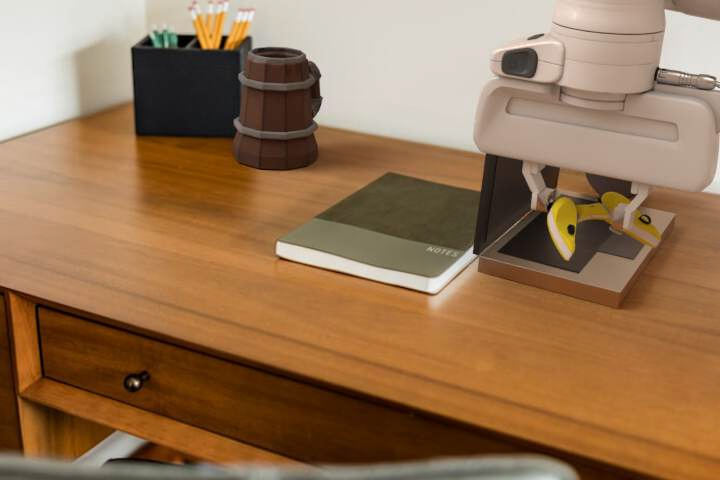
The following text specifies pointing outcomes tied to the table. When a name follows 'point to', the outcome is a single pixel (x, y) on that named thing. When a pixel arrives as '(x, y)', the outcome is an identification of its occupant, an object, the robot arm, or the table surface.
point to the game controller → (568, 214)
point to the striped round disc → (610, 185)
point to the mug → (277, 109)
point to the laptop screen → (504, 197)
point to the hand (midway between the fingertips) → (580, 218)
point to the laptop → (575, 255)
